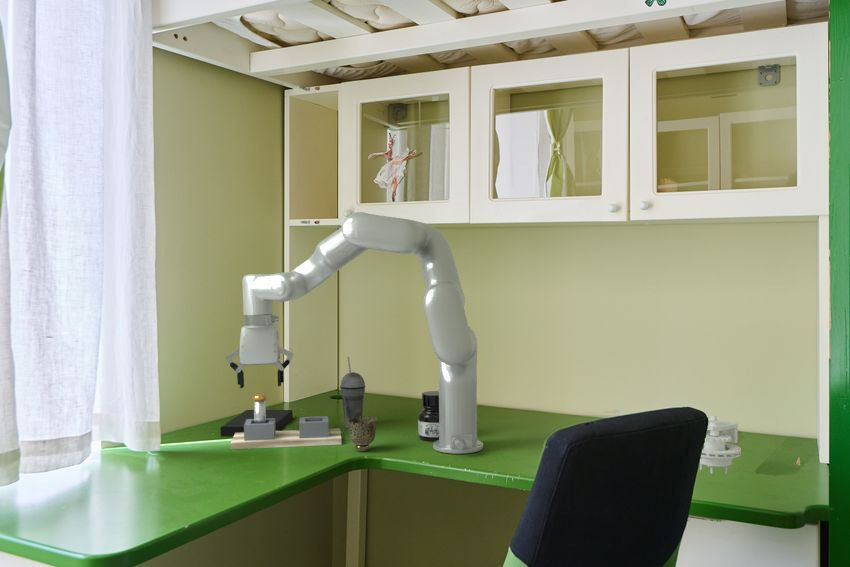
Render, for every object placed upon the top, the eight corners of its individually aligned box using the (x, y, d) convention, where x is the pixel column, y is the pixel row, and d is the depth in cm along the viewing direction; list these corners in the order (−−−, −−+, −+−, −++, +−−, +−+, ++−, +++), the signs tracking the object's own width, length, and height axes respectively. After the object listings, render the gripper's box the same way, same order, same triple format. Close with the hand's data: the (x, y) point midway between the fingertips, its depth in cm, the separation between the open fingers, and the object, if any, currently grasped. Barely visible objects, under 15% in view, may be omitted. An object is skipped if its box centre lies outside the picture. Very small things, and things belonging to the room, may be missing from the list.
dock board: (341, 444, 198) (341, 438, 198) (230, 449, 195) (230, 443, 195) (340, 433, 210) (339, 428, 210) (235, 438, 206) (235, 432, 206)
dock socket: (273, 439, 198) (273, 424, 198) (244, 440, 197) (243, 425, 197) (275, 432, 206) (275, 418, 206) (246, 434, 205) (246, 419, 204)
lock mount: (328, 437, 200) (328, 422, 200) (299, 438, 199) (299, 423, 199) (328, 430, 208) (327, 416, 207) (300, 431, 207) (299, 417, 206)
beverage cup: (364, 429, 215) (363, 358, 214) (338, 429, 215) (337, 358, 215) (367, 424, 222) (366, 355, 222) (342, 424, 223) (341, 355, 222)
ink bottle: (412, 440, 202) (412, 395, 202) (422, 433, 211) (422, 389, 210) (448, 442, 199) (447, 397, 199) (457, 435, 208) (456, 391, 207)
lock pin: (267, 438, 200) (266, 396, 199) (252, 438, 199) (251, 396, 199) (268, 434, 204) (267, 393, 203) (253, 435, 203) (252, 394, 203)
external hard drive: (220, 437, 209) (220, 426, 209) (246, 419, 232) (246, 409, 232) (272, 438, 208) (271, 427, 208) (292, 419, 231) (292, 410, 231)
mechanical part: (701, 478, 166) (701, 423, 166) (678, 463, 178) (679, 412, 178) (751, 476, 167) (751, 422, 166) (726, 461, 179) (726, 411, 178)
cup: (372, 454, 188) (372, 422, 188) (343, 453, 189) (343, 421, 189) (380, 447, 195) (380, 416, 195) (352, 446, 197) (352, 415, 196)
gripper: (292, 318, 205) (294, 382, 206) (226, 321, 203) (228, 385, 203) (291, 321, 198) (294, 387, 198) (222, 323, 195) (225, 390, 196)
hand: (260, 386), depth 201 cm, fingers open, 9 cm apart
